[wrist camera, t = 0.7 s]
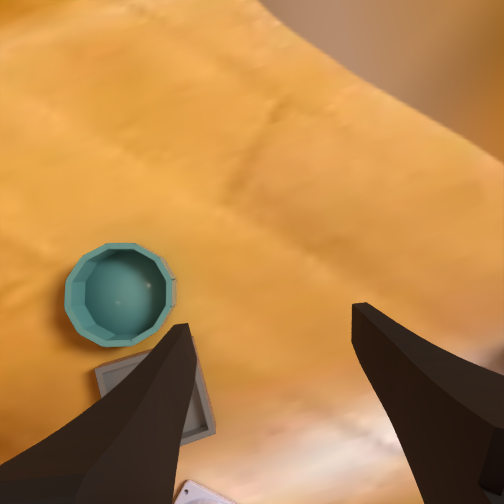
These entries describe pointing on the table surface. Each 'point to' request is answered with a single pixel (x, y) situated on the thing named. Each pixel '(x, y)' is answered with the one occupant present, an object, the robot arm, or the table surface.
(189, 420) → the parts tray
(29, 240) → the table surface
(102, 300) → the bowl
